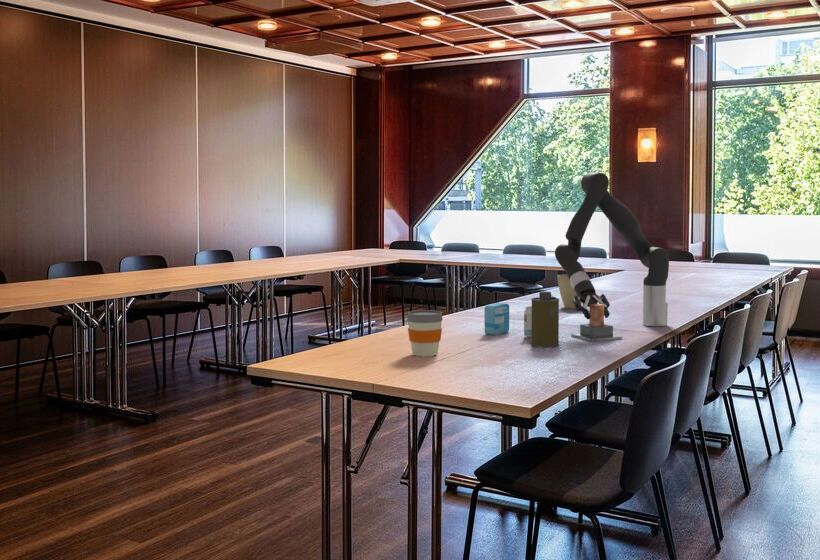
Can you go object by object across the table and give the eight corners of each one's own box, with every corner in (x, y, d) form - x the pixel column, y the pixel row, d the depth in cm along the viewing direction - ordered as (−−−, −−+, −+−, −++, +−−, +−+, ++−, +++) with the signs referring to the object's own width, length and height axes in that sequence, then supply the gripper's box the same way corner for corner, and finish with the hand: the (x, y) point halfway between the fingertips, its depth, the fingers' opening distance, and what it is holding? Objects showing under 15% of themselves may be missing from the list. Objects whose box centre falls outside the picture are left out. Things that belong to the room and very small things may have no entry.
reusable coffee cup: (420, 349, 306) (420, 309, 304) (449, 353, 299) (449, 311, 297) (400, 355, 296) (399, 313, 294) (430, 359, 288) (429, 315, 287)
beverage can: (541, 339, 325) (541, 308, 324) (523, 338, 327) (523, 308, 325) (542, 336, 332) (542, 306, 331) (524, 336, 333) (524, 306, 332)
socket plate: (601, 333, 336) (601, 321, 336) (622, 339, 323) (622, 326, 323) (571, 336, 331) (571, 323, 331) (591, 341, 318) (591, 328, 318)
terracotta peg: (597, 333, 330) (598, 303, 329) (603, 335, 326) (604, 304, 325) (589, 334, 328) (589, 304, 327) (595, 336, 325) (595, 305, 323)
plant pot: (557, 309, 409) (557, 277, 407) (556, 305, 423) (556, 274, 422) (588, 309, 407) (589, 277, 405) (586, 305, 421) (586, 274, 420)
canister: (549, 348, 305) (549, 294, 304) (525, 345, 313) (525, 292, 311) (565, 344, 313) (565, 291, 311) (541, 341, 320) (542, 289, 318)
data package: (493, 336, 334) (493, 306, 333) (484, 335, 337) (484, 305, 336) (509, 332, 343) (509, 303, 342) (500, 331, 346) (500, 302, 345)
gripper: (570, 280, 329) (586, 312, 320) (601, 278, 335) (618, 310, 325) (563, 292, 335) (579, 324, 325) (593, 290, 340) (609, 322, 330)
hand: (598, 317), depth 325 cm, fingers open, 8 cm apart
